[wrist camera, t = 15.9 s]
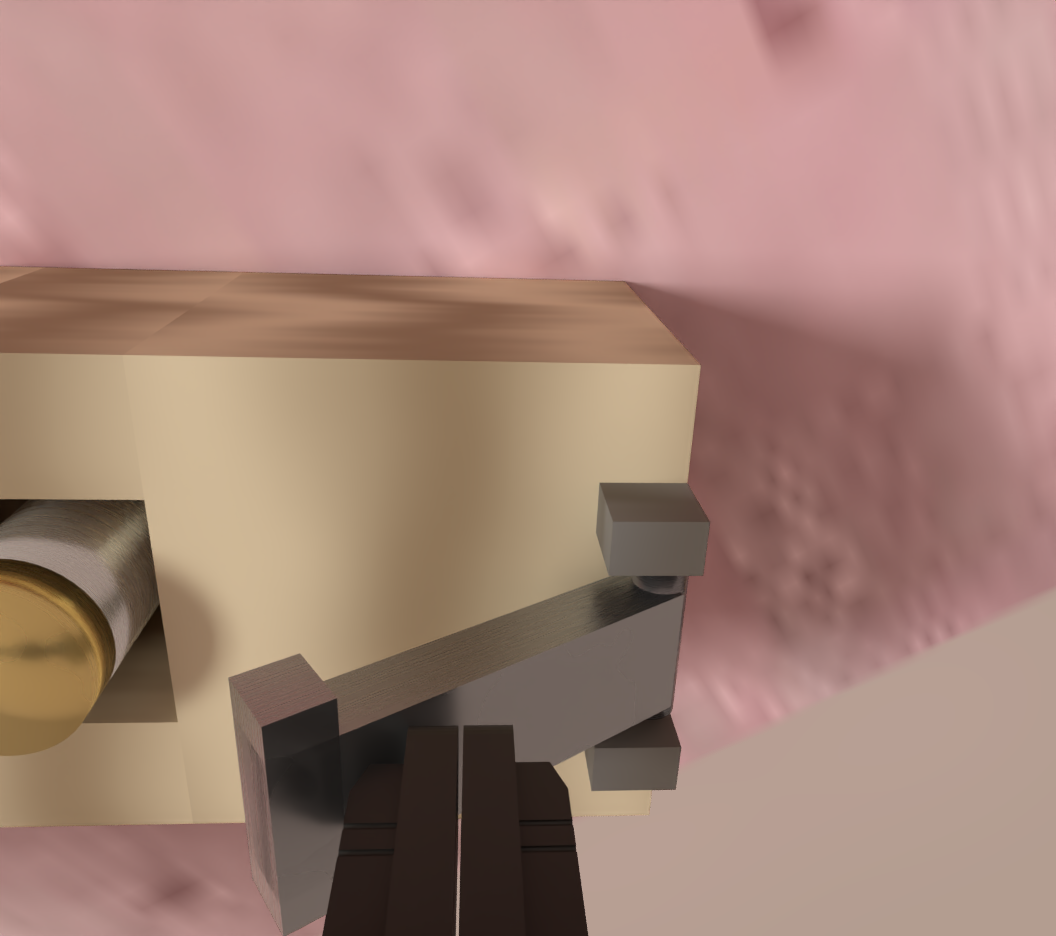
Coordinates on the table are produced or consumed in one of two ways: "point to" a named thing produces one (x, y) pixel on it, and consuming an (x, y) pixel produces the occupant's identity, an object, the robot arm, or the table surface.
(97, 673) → the pin
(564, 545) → the block
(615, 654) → the grey handle
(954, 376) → the table surface
